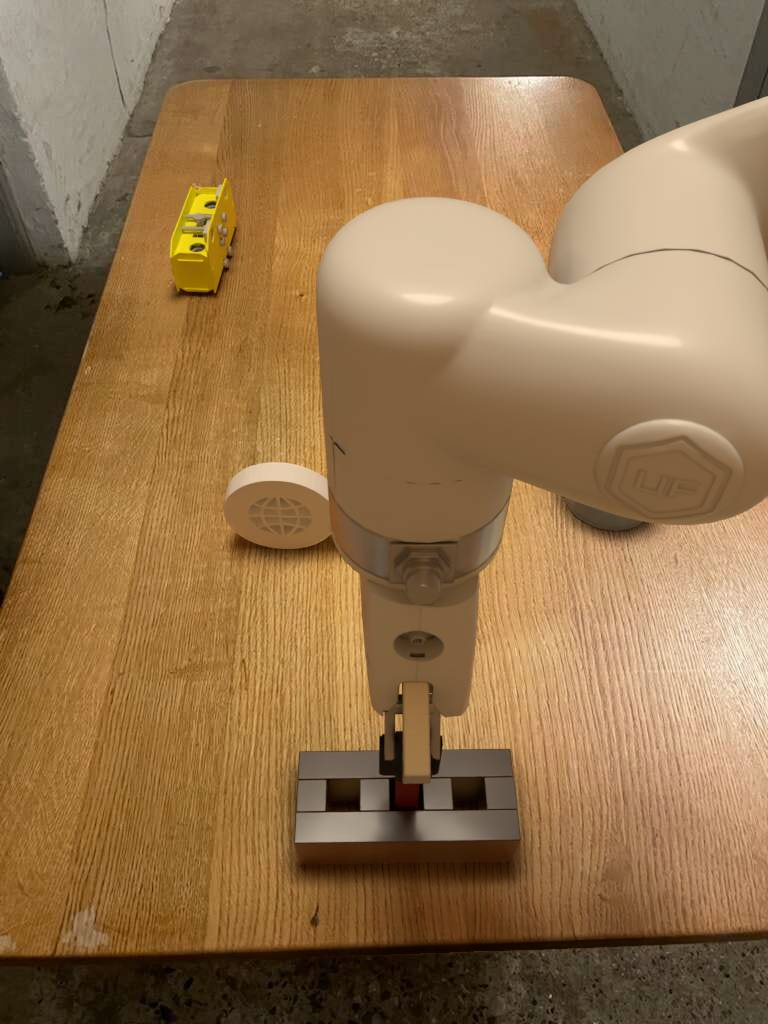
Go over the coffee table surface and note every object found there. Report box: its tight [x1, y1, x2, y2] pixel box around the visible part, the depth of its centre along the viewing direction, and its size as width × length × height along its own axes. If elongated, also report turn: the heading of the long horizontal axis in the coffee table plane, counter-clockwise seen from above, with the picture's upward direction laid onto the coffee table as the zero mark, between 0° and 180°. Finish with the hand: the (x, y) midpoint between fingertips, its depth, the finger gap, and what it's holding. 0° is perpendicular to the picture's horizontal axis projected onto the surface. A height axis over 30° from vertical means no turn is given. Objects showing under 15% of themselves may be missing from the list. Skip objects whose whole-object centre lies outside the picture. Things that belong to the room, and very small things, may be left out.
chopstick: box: [393, 780, 419, 811], centre depth 59 cm, size 2×2×14 cm
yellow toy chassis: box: [169, 177, 237, 294], centre depth 108 cm, size 16×6×8 cm, turn 177°
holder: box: [293, 748, 522, 866], centre depth 63 cm, size 7×16×5 cm, turn 91°
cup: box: [563, 497, 645, 532], centre depth 82 cm, size 9×9×9 cm
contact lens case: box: [223, 461, 332, 550], centre depth 78 cm, size 22×2×10 cm, turn 88°
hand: (405, 688), depth 48 cm, fingers open, 9 cm apart
